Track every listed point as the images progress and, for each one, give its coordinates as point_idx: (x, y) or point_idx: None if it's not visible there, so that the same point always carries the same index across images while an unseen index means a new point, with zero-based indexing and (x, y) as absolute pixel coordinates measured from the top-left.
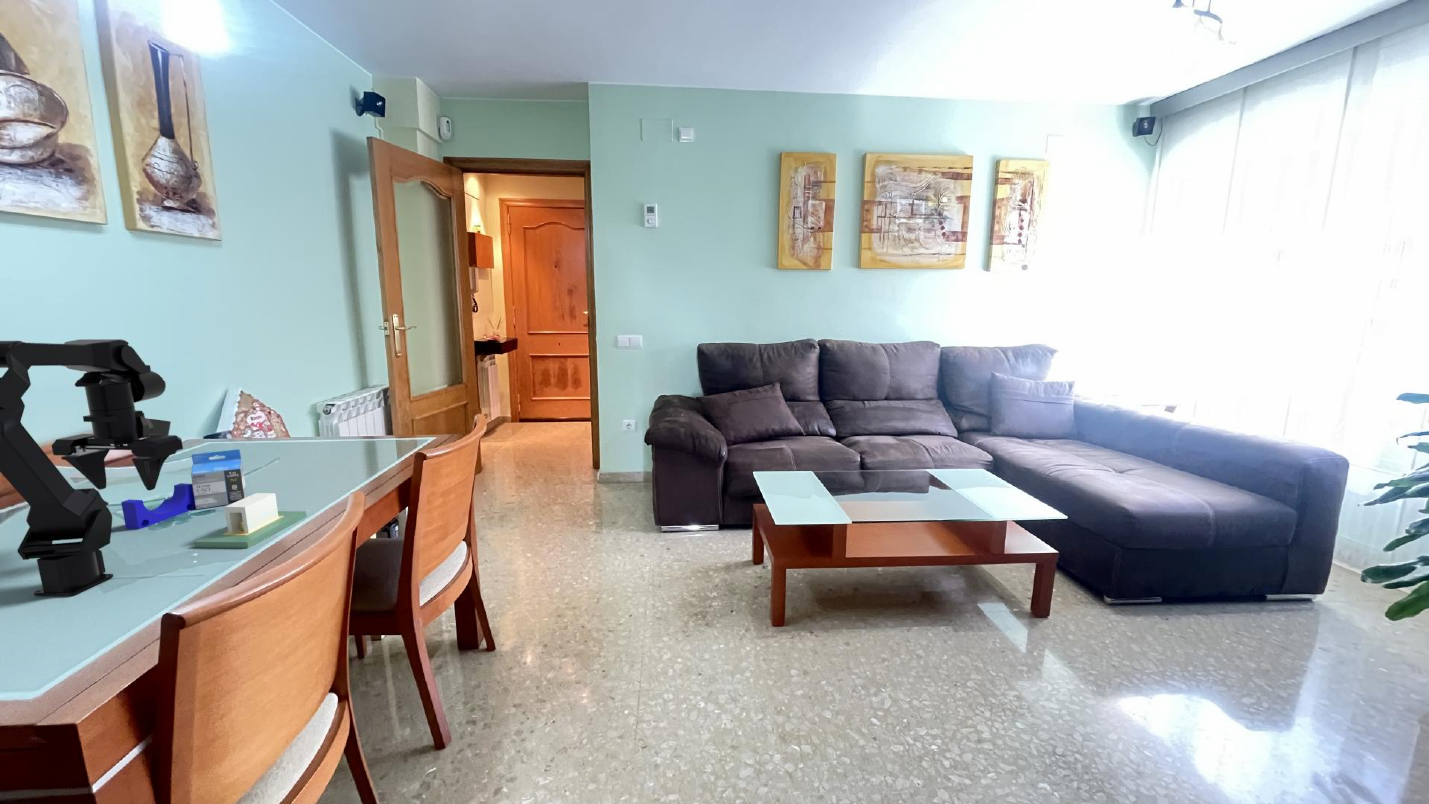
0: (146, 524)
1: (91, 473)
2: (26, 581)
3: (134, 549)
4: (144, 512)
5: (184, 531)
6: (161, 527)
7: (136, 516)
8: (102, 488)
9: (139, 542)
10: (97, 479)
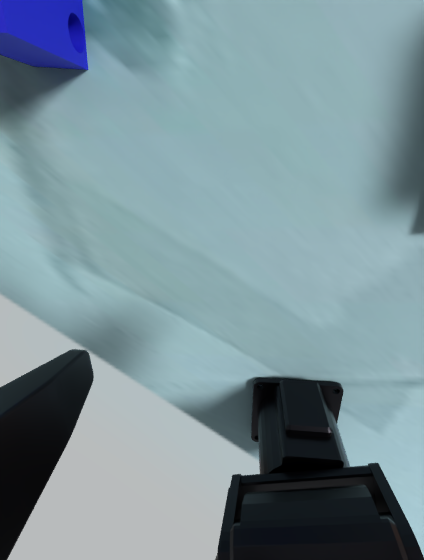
0: (72, 23)
1: (6, 539)
2: (171, 388)
3: (243, 241)
4: (48, 9)
5: (281, 77)
6: (151, 39)
7: (55, 55)
8: (90, 370)
9: (208, 190)
10: (48, 447)
